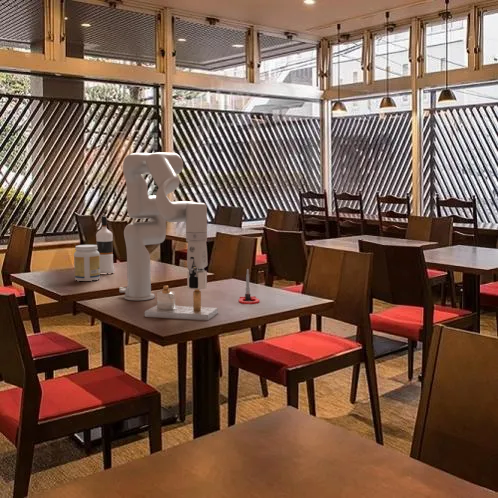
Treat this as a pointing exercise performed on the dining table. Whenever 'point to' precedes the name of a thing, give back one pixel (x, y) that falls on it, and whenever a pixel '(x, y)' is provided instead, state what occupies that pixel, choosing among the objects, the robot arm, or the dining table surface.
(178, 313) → the white tray with jars
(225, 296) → the dining table surface
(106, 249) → the vodka
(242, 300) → the grey tall post
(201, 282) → the sleeve
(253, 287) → the dining table surface
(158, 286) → the dining table surface
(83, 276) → the supplement tub
